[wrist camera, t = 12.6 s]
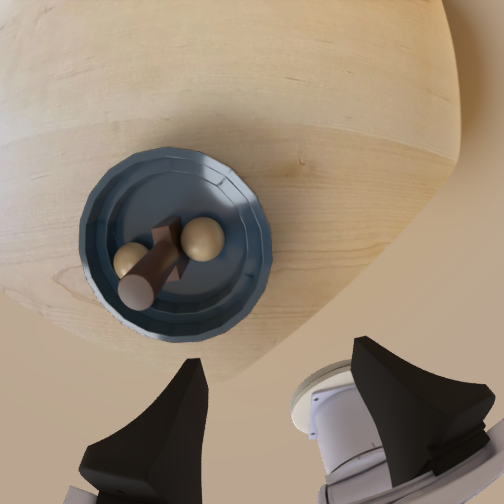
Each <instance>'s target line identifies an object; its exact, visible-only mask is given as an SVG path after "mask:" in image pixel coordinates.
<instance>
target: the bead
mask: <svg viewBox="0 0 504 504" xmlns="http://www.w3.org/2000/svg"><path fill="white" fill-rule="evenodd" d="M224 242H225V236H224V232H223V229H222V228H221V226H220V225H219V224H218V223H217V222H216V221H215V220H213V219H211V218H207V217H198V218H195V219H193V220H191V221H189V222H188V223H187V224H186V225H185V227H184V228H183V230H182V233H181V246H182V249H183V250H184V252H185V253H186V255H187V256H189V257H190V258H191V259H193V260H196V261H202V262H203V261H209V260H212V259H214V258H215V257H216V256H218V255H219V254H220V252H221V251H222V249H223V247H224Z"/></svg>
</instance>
